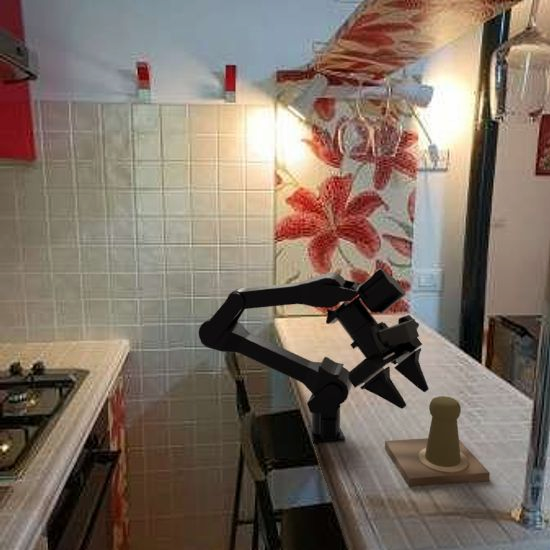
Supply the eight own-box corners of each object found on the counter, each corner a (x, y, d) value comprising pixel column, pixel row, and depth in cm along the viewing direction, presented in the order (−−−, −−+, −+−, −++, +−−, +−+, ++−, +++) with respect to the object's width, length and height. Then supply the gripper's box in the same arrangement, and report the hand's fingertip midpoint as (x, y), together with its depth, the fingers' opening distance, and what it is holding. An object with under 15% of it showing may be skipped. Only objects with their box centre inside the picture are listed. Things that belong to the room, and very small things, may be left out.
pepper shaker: (453, 449, 98) (456, 391, 96) (466, 466, 92) (469, 406, 90) (420, 449, 98) (422, 392, 96) (430, 467, 92) (433, 406, 90)
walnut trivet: (384, 448, 102) (385, 439, 102) (455, 443, 104) (456, 434, 103) (408, 486, 90) (409, 476, 89) (489, 480, 91) (489, 470, 91)
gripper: (365, 314, 90) (425, 392, 85) (414, 294, 104) (468, 361, 99) (325, 350, 96) (379, 425, 91) (376, 327, 110) (425, 391, 105)
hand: (415, 398), depth 97 cm, fingers open, 9 cm apart
